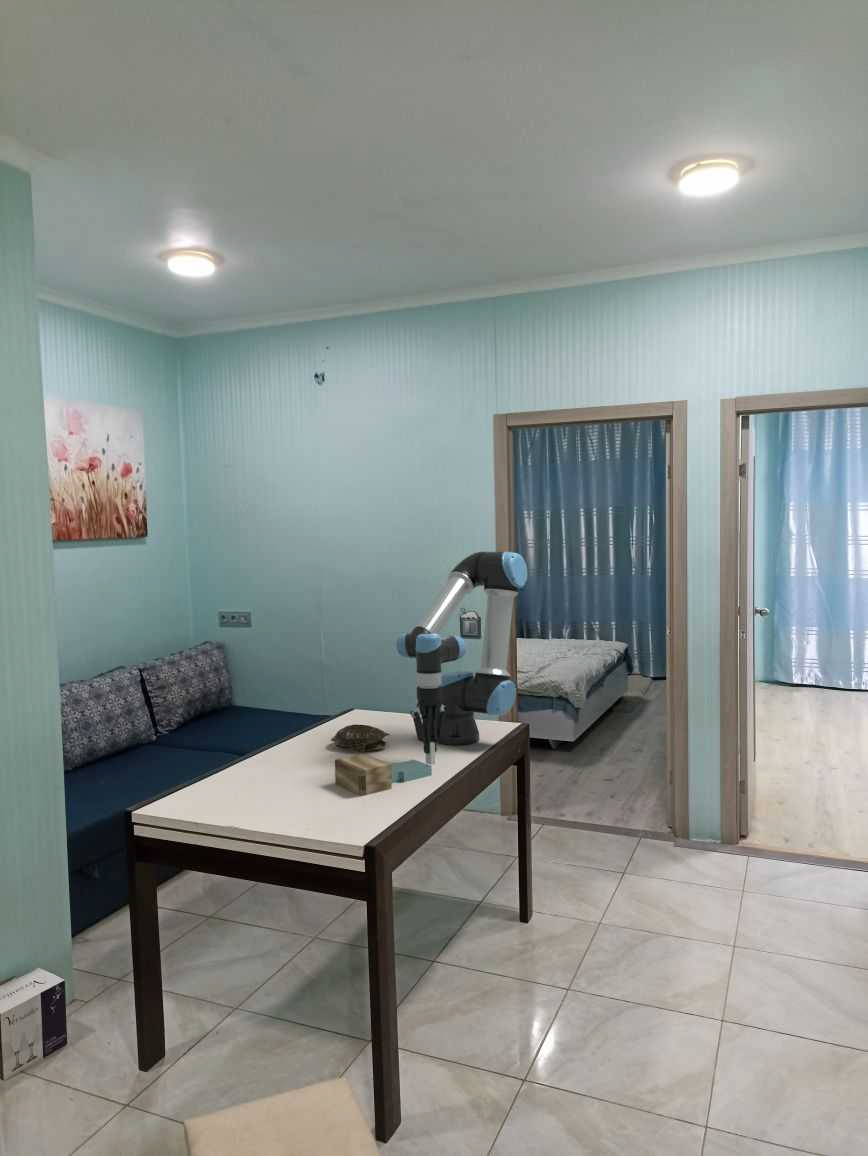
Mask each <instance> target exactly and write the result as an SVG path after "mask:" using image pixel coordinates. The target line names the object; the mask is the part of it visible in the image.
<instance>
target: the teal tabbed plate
mask: <svg viewBox="0 0 868 1156" xmlns="http://www.w3.org/2000/svg"><path fill="white" fill-rule="evenodd" d="M390 764H391V778H392V784H395V783H398V782H403V783H407V782H411V781H415V780H419V779H423V778H426V777H427V778H428V777H431V776H433V775H432V771H433V770H432V767H433V766H432V765H430V764H428V763H426V762H422V761H419V760H416V759H409V760H406V761H400V762H396V763H390Z"/></svg>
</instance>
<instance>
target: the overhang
mask: <svg viewBox="0 0 868 1156" xmlns="http://www.w3.org/2000/svg"><path fill="white" fill-rule="evenodd" d="M391 764H392V763H389V762H387V761H384V760H382V759H379V758H376V757H374V756H371V755H368V754H366V753H361V754H357V755H352V756H348V757H343V758H338V759H334V778H335V779H334V780H335V781H334V782H335V785H337V786H340V787H342V789H346V790H348V791H350V792H352V793H354V794H357V795H359V796H360V797H363V796H368V795H372V794H374V793H378V792H379V793H380V792H383V791H384V792H385V791H388V790H392V789H393V787H392V785H393V783H392V778H391Z"/></svg>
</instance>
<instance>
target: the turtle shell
mask: <svg viewBox="0 0 868 1156" xmlns="http://www.w3.org/2000/svg"><path fill="white" fill-rule="evenodd" d="M390 735H391V734H390V733H388V732H385V731H383V730H382V729H380V728H378V727H375V726H371V725H367V724H355V723H354V724H350V725H346V726H343V727H342V728H341V729H338V731H337V732H336V734H335V735H334V736H333V737H332V738H330V741H331V742H333V744H334V745H335V746H336V747H337V748H339V749H342V750H350V751H355V752H361V753H362V752H370V751H376V750H378V751H379V750H383V749H385V748H386V747H387V745H388V742H387V741H384V740H383V738H386V736H390Z"/></svg>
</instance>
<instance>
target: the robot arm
mask: <svg viewBox="0 0 868 1156" xmlns="http://www.w3.org/2000/svg"><path fill="white" fill-rule="evenodd" d="M527 581H528V566H527V564H526V562H525V559H524V557H523V556H522V555H521V554H519V553H517V552H511V551H479V552H477V551H476V552H474V553H472V554H470V555H468V556H467V557H465V558H464V559H462V560H461V561H460V562H459V563H458V564H456V566H455V567H454V568H453V569H452V570H451V571H450V573H449V574H448V576H447V582H446V583H445V585H443V587H442V588H441V590H440V591H439V593H438V595H437V596H436V597H435V598H434V600H433V601H432V603H431V604H430V606H429V607H428V608H427V610H425V612H424V614H423V615H422V616H421V618H420V619H419V621H418V622H417V624H416V625H415V626H414V627H413V629H412V630H411V632H410V633H409V632H406V633H402V634H400V635H399V636H398V637H397V639H396V645H395V647H396V651H397V653H398V655H400V656H401V657H405V658H409V659H416V663H415V664H416V686H417V687H416V699H417V703H416V708H415V710H411V711H410V712H409V715H410V716H411V717H412V719H413V720H412V721H413V723H414V724H413V725H414V728H415V732H416V737H417V740H418V742H422V743H423V752H424V754H425V764H428V765H430V766H432V765H436V752H437V747H438V746H437V745H438V743H439V744H443V745H448V746H449V745H452V746H459V745H460V746H464V745H471V744H475V743H478V742H479V740H480V731H479V728H478V725H477V722H476V718H475V713H477V714H484V715H489V716H503V715H504V716H505V715H506V714H507V713H508V712H510V710H511V709H512V708H513V706H514V703H515V700H516V694H517V689H516V685H515V683H514V682H513V681H511V674H510V673H509V672H508V671H507V665H508V657H509V646H510V645H509V644H510V637H511V636H510V635H511V627H512V626H511V625H512V616H513V606H514V598H515V597H516V596H518V595H519V590H520V589H521V588H523V587H524V586H525V585H526V583H527ZM477 587H483V591H484V593H485V594H486V595H487V599H486V610H485V620H484V630H483V641H482V651H481V659H480V667H479V668H478V669H477V670H475V673H474V672H473V670H472V671H471V670H464V671H463V670H459V671H454V672H452V671H451V672H448V673H447V672H446V673H444V674H442V664H444V663H450V662H455V661H457V660H460V659H462V658H463V657H464V656H465V655H466V652H467V645H466V642H465V640H464V638H462V637H461V636H459V635H448V636H441V635H440V632H441V631H442V629H443V628H444V626H445V625H446V624H447V622H448V621H449V620H450V618H451V616H452V615H453V614H454V612H455V611H456V609H457V608H458V607H459V605H460V604H461V602H462V601H463V600H464V598H465V597H466V595H468V594H471V593H472V592H473V591H474V589H475V588H477Z"/></svg>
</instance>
